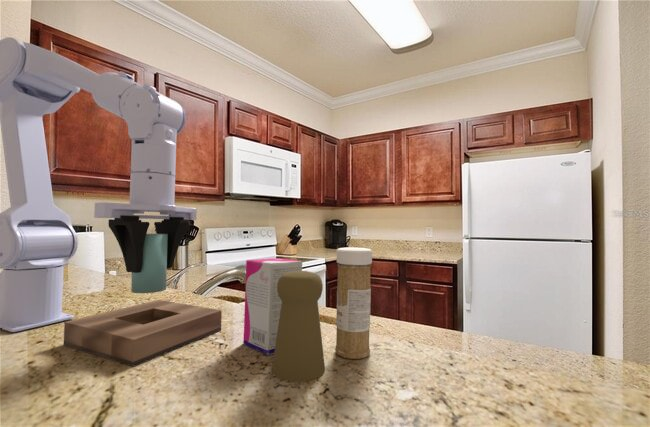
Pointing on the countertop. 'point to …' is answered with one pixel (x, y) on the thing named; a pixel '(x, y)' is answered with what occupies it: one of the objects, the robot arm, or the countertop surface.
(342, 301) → the sprinkles bottle
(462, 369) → the countertop surface
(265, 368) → the countertop surface
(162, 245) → the peg
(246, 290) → the supplement box
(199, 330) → the socket block
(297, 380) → the brown tall rounded piece
